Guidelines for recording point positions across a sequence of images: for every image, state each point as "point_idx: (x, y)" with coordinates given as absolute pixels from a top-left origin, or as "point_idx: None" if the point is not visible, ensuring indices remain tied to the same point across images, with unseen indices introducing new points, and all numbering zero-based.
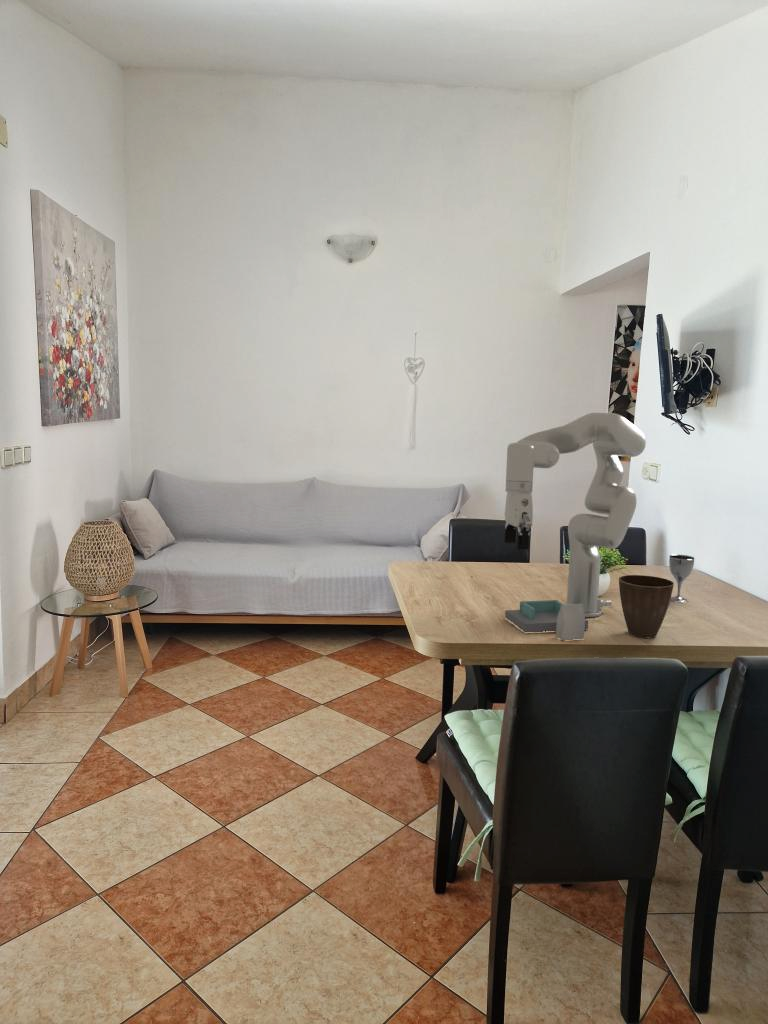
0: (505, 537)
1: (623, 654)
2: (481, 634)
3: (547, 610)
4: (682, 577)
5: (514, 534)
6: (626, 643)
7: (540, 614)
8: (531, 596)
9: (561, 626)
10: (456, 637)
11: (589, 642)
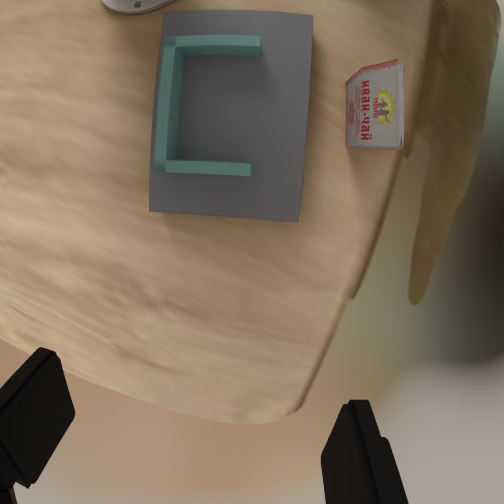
0: (57, 441)
1: (478, 80)
2: (266, 323)
3: (181, 78)
4: None
5: (25, 407)
6: (419, 15)
7: (214, 119)
8: (8, 56)
9: (384, 148)
10: (271, 378)
11: None
